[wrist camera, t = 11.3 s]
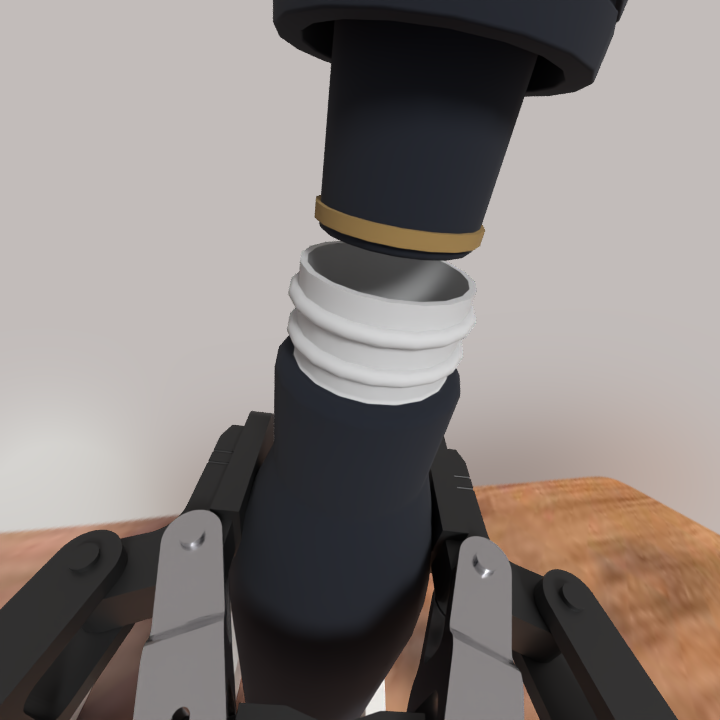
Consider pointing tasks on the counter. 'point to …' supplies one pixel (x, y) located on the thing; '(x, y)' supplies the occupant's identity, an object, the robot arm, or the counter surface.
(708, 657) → the counter surface
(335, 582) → the black water bottle
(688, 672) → the counter surface
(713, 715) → the counter surface
